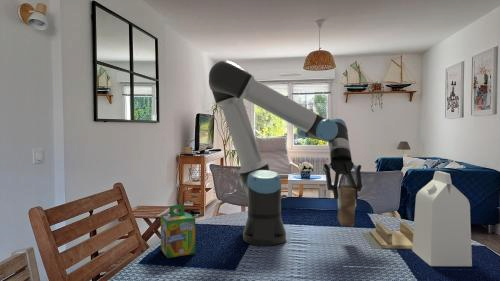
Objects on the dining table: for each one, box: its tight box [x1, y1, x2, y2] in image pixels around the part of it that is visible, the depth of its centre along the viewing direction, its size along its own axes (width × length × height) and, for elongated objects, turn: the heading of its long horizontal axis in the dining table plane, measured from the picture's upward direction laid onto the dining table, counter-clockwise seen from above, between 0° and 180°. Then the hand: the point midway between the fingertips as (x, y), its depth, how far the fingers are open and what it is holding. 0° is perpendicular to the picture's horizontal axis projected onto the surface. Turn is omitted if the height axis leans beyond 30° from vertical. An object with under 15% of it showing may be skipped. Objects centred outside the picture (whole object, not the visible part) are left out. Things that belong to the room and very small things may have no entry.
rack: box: [369, 221, 414, 250], centre depth 122 cm, size 14×15×4 cm
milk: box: [411, 170, 473, 267], centre depth 105 cm, size 12×12×26 cm
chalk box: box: [159, 204, 196, 259], centre depth 113 cm, size 9×9×15 cm
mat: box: [360, 232, 410, 250], centre depth 122 cm, size 20×16×1 cm
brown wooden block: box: [337, 184, 356, 227], centre depth 119 cm, size 4×8×12 cm, turn 176°
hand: (347, 206), depth 118 cm, fingers closed on brown wooden block, 4 cm apart
